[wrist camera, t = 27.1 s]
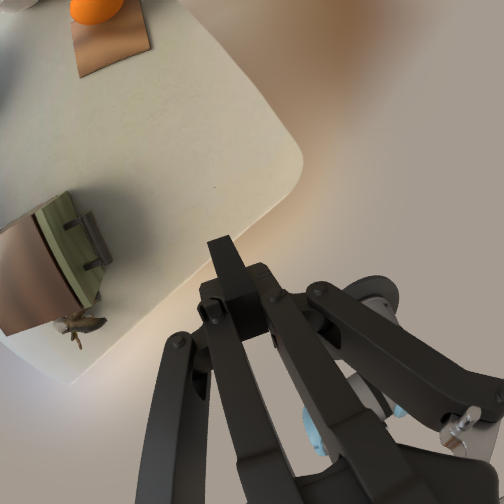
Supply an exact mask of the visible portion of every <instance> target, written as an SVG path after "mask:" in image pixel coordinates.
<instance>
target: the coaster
mask: <svg viewBox="0 0 504 504" xmlns="http://www.w3.org/2000/svg"><path fill="white" fill-rule="evenodd" d="M71 30H72V38H73V44H74V51H75V56H76V62H77V67H78V72H79V77H80V78H82V77H84V76H86V75H88V74H90V73H92V72H94V71H96V70H99V69H101V68H103V67H105V66H108V65H110V64H112V63H115V62H117V61H120V60H122V59H125V58H128V57H130V56H133V55H136V54H139V53H141V52H144V51H147V50H150V45H149V41H148V36H147V32H146V28H145V23H144V19H143V14H142V10H141V5H140V0H124V2H123V4H122V6H121V8H120V9H119V11H118V12H117V13H116V14H115V15H114V16H113V17H111V18H110V19H108V20H107V21H105V22H103V23H100V24H96V25H82V24H80V23H78V22H76V21H73V22H71Z"/></svg>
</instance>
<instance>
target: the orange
mask: <svg viewBox="0 0 504 504" xmlns="http://www.w3.org/2000/svg"><path fill="white" fill-rule="evenodd" d="M123 2H124V0H71V3H70V14H71V16H72V18H73V19H74V20H75V21H76V22H78V23H80V24H82V25H96V24H100V23H103V22H105V21H107V20H108V19H110V18H111V17H113V16H114V15H115V14H116V13H117V12H118V11H119V9H120V8H121V6H122V4H123Z"/></svg>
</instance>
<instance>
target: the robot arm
mask: <svg viewBox="0 0 504 504" xmlns="http://www.w3.org/2000/svg"><path fill="white" fill-rule="evenodd" d="M207 244H208V248H209V251H210V254H211V258H212V261H213V264H214V267H215V270H216V274H217V277H218V278H215V279H212V280H210V281H207V282H204V283H202V284H201V286H200V288H199V292H200V297H201V302H200V303H199V305H198V307H197V310H198V312H199V314H200V316H201V319H202V321H203V325H202V326H201V327H200V328H199V329H198V330H196V331H195V332H193V333H192V334H189V333H188V332H184V331H181V332H177V333H174V334H173V335H171V336H170V337H169V338H168V339H167V341H166V343H165V347H164V351H163V355H162V359H161V363H160V367H159V371H158V376H157V380H156V385H155V390H154V394H153V398H152V403H151V408H150V413H149V418H148V423H147V429H146V434H145V440H144V445H143V451H142V457H141V463H140V469H139V476H138V483H137V491H136V499H135V504H205V477H206V453H207V434H208V416H209V400H210V387H211V370H213V369H214V373H215V377H216V382H217V385H218V390H219V394H220V398H221V402H222V405H223V409H224V413H225V417H226V420H227V424H228V428H229V431H230V435H231V438H232V441H233V445H234V448H235V452H236V455H237V463H236V465H237V470H238V474H239V477H240V481H241V484H242V487H243V490H244V493H245V496H246V499H247V501H248V502H247V504H504V496H503V497H501V498H499V490H498V489H499V480H498V475H497V472H496V470H495V468H494V467H493V466H492V465H491V464H489V461H490V458H491V455H492V452H493V449H494V445H495V441H496V438H497V434H498V431H499V426H500V422H501V419H502V418H503V417H504V379H500V378H496V377H491V376H487V375H483V374H479V373H475V372H471V371H467V370H465V369H463V368H462V367H460V366H459V365H457V364H456V363H454V362H453V361H451V360H450V359H448V358H447V357H445V356H444V355H442V354H441V353H439V352H438V351H436V350H435V349H433V348H432V347H430V346H428V345H427V344H425V343H424V342H422V341H421V340H419V339H417V338H416V337H415V336H413V335H411V334H410V333H408V332H407V331H405V330H404V329H403V328H402V327H401V326H400V325H399V323H398V321H397V319H396V316H395V314H394V312H393V310H392V307H391V305H390V304H389V302H388V301H387V300H386V299H385V298H384V297H382V296H380V295H376V294H373V295H368V296H365V297H363V298H361V299H359V300H356V299H355V298H353V297H352V296H350V295H348V294H347V293H345V292H344V291H342V290H340V289H339V288H337V287H335V286H334V285H332V284H331V283H328V282H325V281H319V282H314V283H312V284H310V285H309V286H308V287H307V289H306V292H305V293H297V294H292V293H288V291H286V290H285V289H282V288H281V286H280V285H279V283H278V282H277V280H276V279H275V277H274V276H273V275H272V273H271V271H270V270H269V269H268V267H267V265H265V264H263V263H261V262H260V263H256V264H254V265H251V266H248V267H245V265H244V263H243V261H242V259H241V257H240V256H239V254H238V252H237V250H236V248H235V246H234V244H233V242H232V240H231V238H230V236H229V235H226V236H223V237H221V238H218V239H215V240H212V241H209V242H207ZM268 328H269V329H268ZM269 330H270V333H271V337H272V340H273V344H274V347H275V348H277V350H278V352H279V354H280V356H281V358H282V360H283V362H284V364H285V366H286V369H287V371H288V373H289V375H290V377H291V379H292V381H293V383H294V385H295V387H296V389H297V391H298V393H299V395H300V397H301V399H302V401H303V403H304V405H305V406H304V409H303V422H304V426H305V429H306V432H307V435H308V437H309V440H310V442H311V444H312V445H313V447H314V449H315V451H316V452H317V454H318V455H320V456H327V455H329V457H330V459H331V461H332V463H333V464H332V465H331V466H330V467H329V468H327V469H326V470H324V471H323V472H321V473H318V474H313V475H307V476H300V477H296V476H295V474H294V472H293V470H292V468H291V465H290V463H289V461H288V459H287V456H286V454H285V452H284V449H283V447H282V444H281V442H280V440H279V437H278V435H277V432H276V430H275V427H274V425H273V422H272V420H271V417H270V415H269V412H268V410H267V407H266V405H265V402H264V400H263V397H262V395H261V392H260V389H259V387H258V384H257V382H256V379H255V376H254V374H253V371H252V369H251V366H250V363H249V360H248V358H247V355H246V352H245V349H244V347H243V344H242V341H245V340H247V339H251V338H253V337H256V336H259V335H261V334H264V333H267V332H269ZM323 344H324V345H326V346H327V347H328V348H329V349H330V350H332V351H333V352H334V353H335V354H336V355H338V356H339V357H340V358H341V359H342V360H344V361H345V362H346V363H347V364H348V365H350V366H351V367H352V368H353V369H354V370H356V371H357V372H356V373H354V374H353V375H351V376H350V377H348V378H347V379H346V378H345V376H344V375H343V373H342V372H341V370H340V369H339V367H338V366H337V364H336V363H335V361H334V360H333V358H332V357H331V355H330V354H329V352H328V351H327V349H326V348H325V346H324V345H323ZM392 414H394V415H395V416H396V417H398V418H401V417H403V416H405V415H406V414H410V415H411V416H412V417H413V418H415V419H416V420H418V421H419V422H420V423H422V424H423V425H425V426H427V427H428V428H430V429H432V430H434V431H437V432H440V440H441V444H442V445H443V446H445V447H447V448H449V449H450V450H451V451H452V452H453V453H454V456H452V455H447V454H442V453H437V452H432V451H428V450H424V449H419V448H416V447H412V446H408V445H404V444H398V443H396V442H395V441H394V439H393V438H392V436H391V435H390V433H389V432H388V426H387V425H386V423H385V422H384V420H385V419H387V418H388V417H390V416H391V415H392Z"/></svg>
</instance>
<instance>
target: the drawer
mask: <svg viewBox="0 0 504 504" xmlns="http://www.w3.org/2000/svg"><path fill="white" fill-rule="evenodd" d="M35 215H36V217H37V222H38V224H39V226H40V228H41V231H42V233H43V235H44V237H45V239H46V241H47V243H48V245H49V247H50V249H51V251H52V253H53V255H54V257H55V259H56V261H57V263H58V265H59V267H60V268H61V270H62V272H63V274H64V276H65V277H66V279H67V281H68V283H69V284H70V286H72V288H73V290H74V291H75V293H76V295H77V296H78V298H79V299H80V301H81V303H82V304H83V306H84V307H85V308H88V307H91V306H93V303H94V300H95V297H96V294H97V291H98V289H99V286H100V283H101V281H102V278H103V275H104V271H103V269H102V267H101V265H104V266H105V265H108V264H110V263H111V262H112V261H113V257H112V255H111V253H110V251H109V249H108V247H107V245H106V243H105V241H104V238H103V236H102V234H101V232H100V230H99V227H98V225H97V223H96V221H95V218H94V216H93V213H92V211H91V210H89V211H87V212H85V213H83V214H82V215H81V216H79V217H78V216H77V214H76V211H75V209H74V207H73V204H72V202H71V199H70V197H69V194H68V191H65V192H63V193H62V194H60V195H58V196H57V197H56V198H54V199H53V200H51V201H50V202H48V203H47V204H46V205H44V206H43V207H41V208H40V209H39V210H37V211H36V212H35ZM81 223H83V224H84V227H85V229H86V231H87V233H88V235H89V238H90V240H91V242H92V244H93V246H94V248H95V250H96V252H97V254H98V256H99V258H97V257H96V255H95V253H94V251H93V249H92V247H91V245H90V243H89V241H88V239H87V236H86V234H85V232H84V230H83V228H82V225H81Z"/></svg>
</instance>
